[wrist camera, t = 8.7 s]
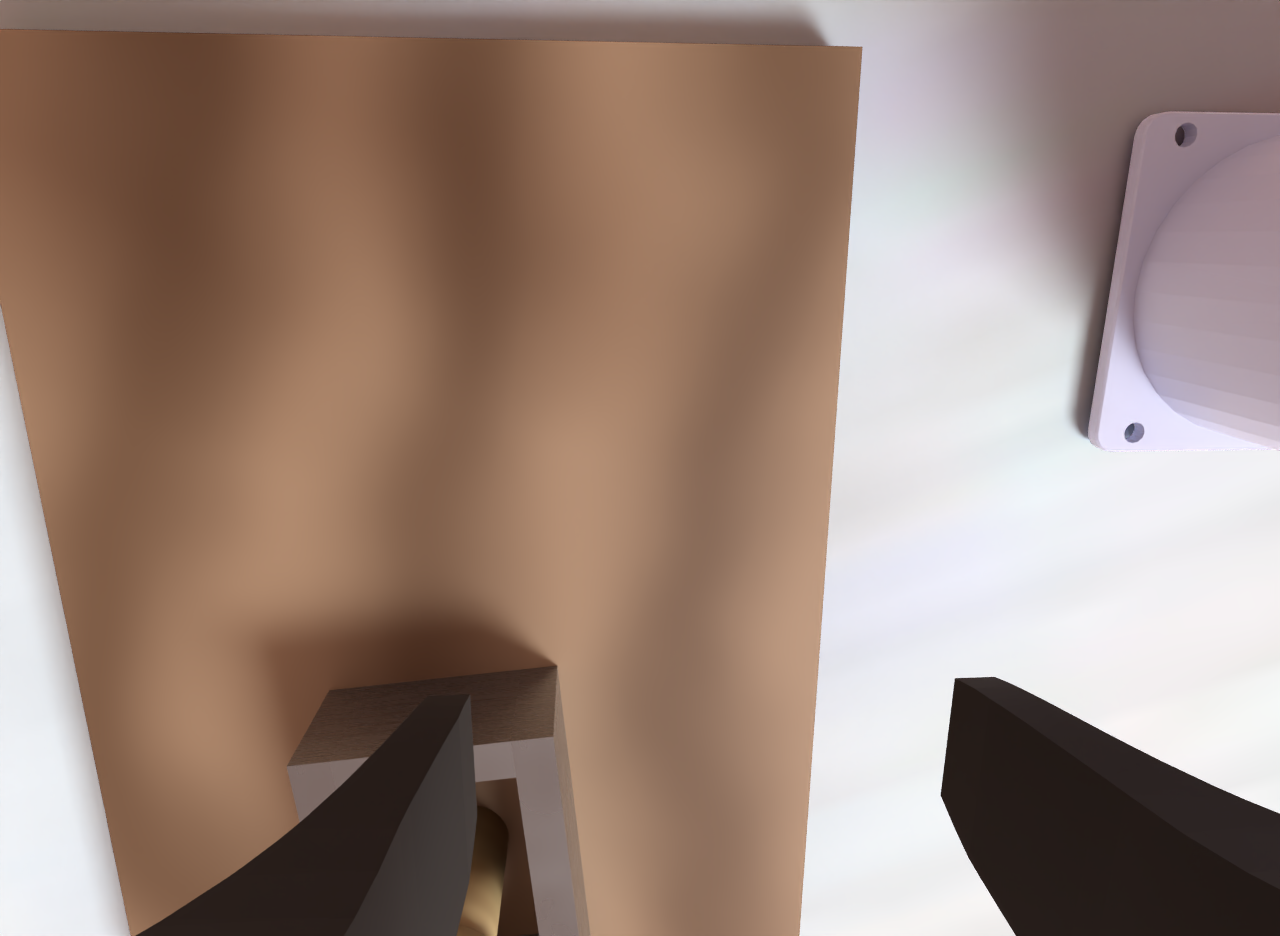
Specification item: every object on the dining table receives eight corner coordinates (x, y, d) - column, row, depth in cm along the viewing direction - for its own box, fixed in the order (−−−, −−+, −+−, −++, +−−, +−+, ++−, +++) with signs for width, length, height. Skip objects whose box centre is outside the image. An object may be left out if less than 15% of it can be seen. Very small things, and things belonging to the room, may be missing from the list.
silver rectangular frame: (557, 665, 20) (553, 736, 17) (592, 953, 23) (594, 1057, 20) (329, 690, 20) (286, 766, 17) (390, 978, 22) (362, 1087, 20)
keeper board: (839, 61, 18) (962, -22, 12) (784, 926, 25) (846, 1140, 19) (-2, 45, 17) (-309, -56, 11) (172, 959, 24) (36, 1198, 18)
